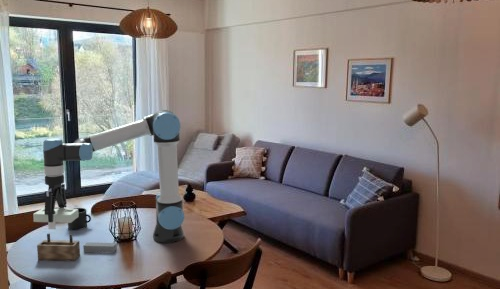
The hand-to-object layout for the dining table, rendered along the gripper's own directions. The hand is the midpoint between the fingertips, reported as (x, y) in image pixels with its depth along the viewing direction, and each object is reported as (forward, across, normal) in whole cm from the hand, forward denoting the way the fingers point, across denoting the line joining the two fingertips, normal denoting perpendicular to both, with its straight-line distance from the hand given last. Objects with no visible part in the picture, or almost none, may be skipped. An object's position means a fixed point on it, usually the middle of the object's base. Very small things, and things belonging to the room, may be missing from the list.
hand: (56, 225), depth 186 cm
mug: (+15, -39, -7) cm, 43 cm away
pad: (+15, -9, +15) cm, 23 cm away
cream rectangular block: (-3, 0, 0) cm, 3 cm away
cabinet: (+15, 0, 0) cm, 15 cm away
